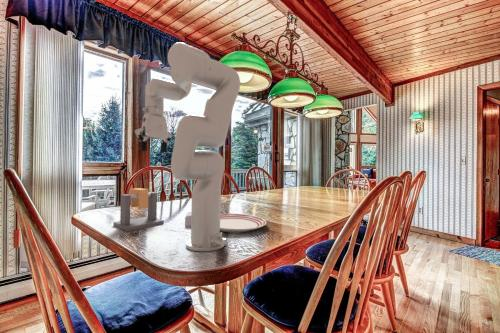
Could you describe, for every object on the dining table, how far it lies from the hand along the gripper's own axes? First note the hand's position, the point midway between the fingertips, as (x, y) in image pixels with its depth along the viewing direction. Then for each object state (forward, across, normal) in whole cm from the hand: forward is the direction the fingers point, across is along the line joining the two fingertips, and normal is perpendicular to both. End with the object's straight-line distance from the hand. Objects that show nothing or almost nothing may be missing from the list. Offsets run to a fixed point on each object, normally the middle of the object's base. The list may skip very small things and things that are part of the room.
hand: (154, 151), depth 110 cm
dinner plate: (+33, +20, -29) cm, 48 cm away
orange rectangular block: (+24, -5, +4) cm, 25 cm away
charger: (+32, +15, -11) cm, 37 cm away
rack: (+32, -5, +4) cm, 32 cm away
